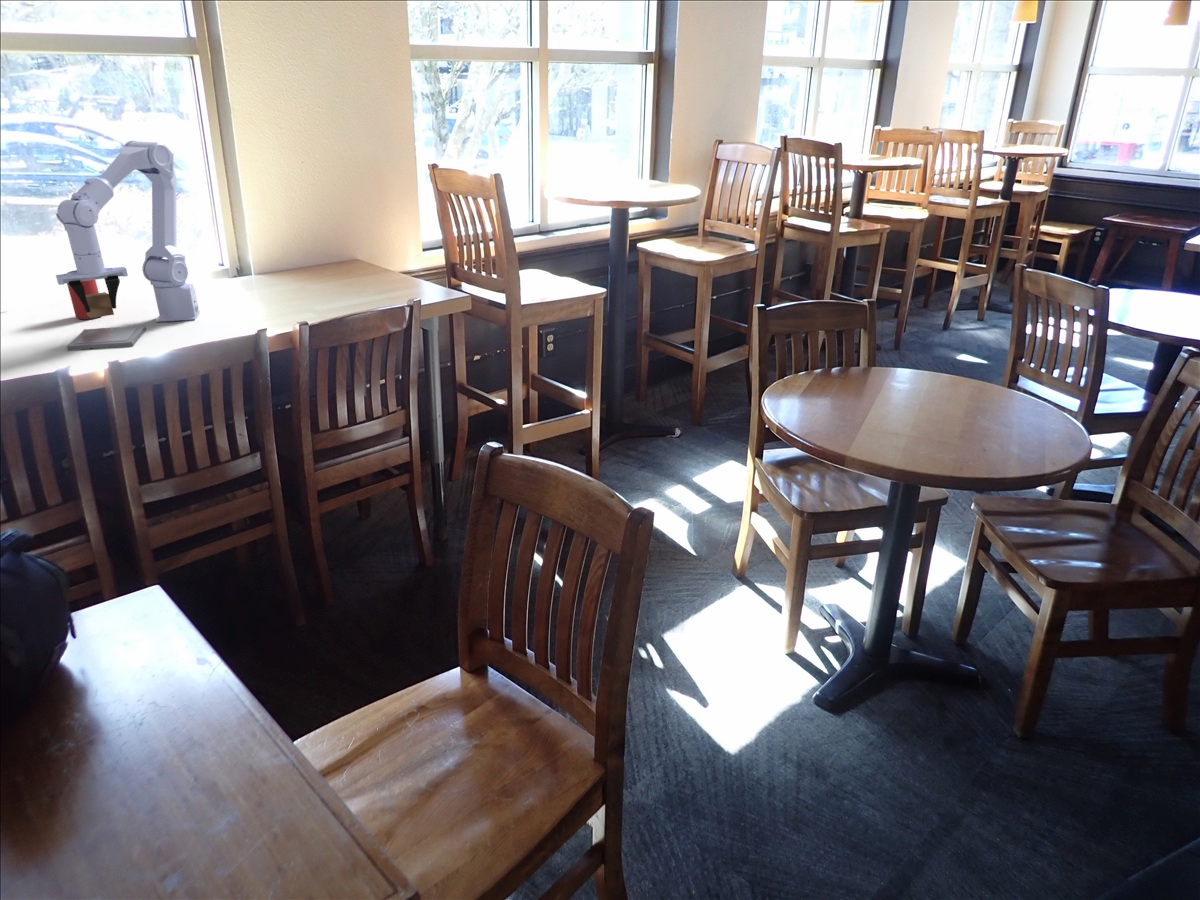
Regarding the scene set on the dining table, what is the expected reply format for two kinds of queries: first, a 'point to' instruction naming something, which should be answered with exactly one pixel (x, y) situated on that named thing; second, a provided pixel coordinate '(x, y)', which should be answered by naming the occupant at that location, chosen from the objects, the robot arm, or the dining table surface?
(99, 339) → the coaster
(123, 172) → the robot arm
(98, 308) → the walnut block
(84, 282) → the beer can
